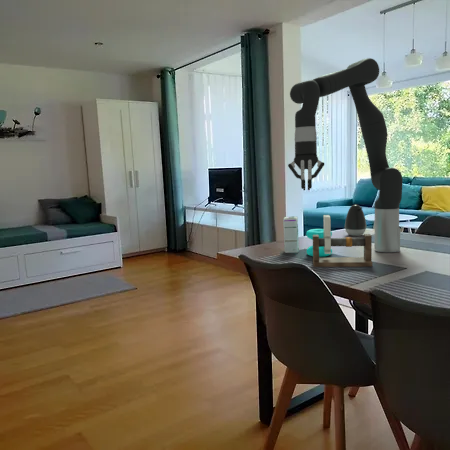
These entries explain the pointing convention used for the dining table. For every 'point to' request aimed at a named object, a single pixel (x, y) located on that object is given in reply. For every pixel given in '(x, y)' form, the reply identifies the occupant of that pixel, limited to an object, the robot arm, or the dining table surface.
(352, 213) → the dark grey egg shape
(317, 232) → the donuts
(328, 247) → the white tall bar
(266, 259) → the dining table surface
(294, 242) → the syrup box
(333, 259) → the pipe stand
